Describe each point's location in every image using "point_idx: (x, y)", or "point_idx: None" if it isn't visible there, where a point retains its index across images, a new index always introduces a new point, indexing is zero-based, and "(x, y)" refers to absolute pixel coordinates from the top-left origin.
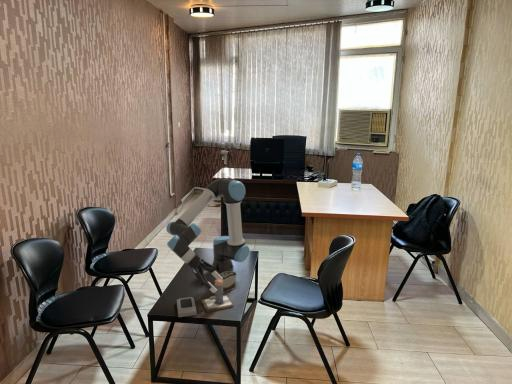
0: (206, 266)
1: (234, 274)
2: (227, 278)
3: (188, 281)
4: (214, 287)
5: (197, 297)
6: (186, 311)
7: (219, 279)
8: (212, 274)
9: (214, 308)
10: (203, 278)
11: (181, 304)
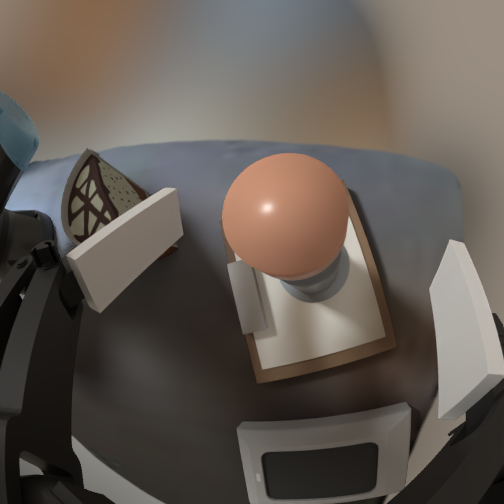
0: (6, 426)
1: (95, 159)
2: (113, 196)
3: (77, 401)
4: (466, 268)
5: (206, 398)
6: (404, 461)
7: (237, 201)
8: (109, 298)
9: (381, 297)
10: (467, 495)
11: (324, 494)
